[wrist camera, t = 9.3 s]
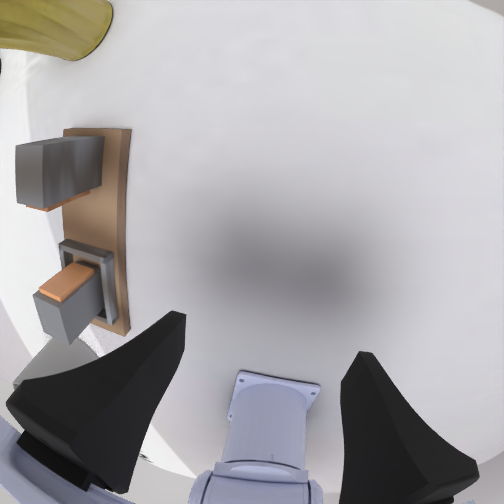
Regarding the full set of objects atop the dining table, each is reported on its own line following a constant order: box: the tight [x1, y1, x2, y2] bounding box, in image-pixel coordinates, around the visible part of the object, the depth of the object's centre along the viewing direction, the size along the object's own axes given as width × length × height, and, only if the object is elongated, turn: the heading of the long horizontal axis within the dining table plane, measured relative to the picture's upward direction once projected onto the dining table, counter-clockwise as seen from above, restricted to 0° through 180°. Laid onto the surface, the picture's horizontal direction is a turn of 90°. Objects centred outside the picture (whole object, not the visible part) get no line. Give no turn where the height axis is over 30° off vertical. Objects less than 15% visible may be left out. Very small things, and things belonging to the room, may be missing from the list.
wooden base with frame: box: [15, 128, 131, 337], centre depth 18 cm, size 18×6×7 cm, turn 169°
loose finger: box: [33, 260, 105, 346], centre depth 18 cm, size 4×3×6 cm
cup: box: [13, 337, 99, 390], centre depth 24 cm, size 8×8×10 cm
